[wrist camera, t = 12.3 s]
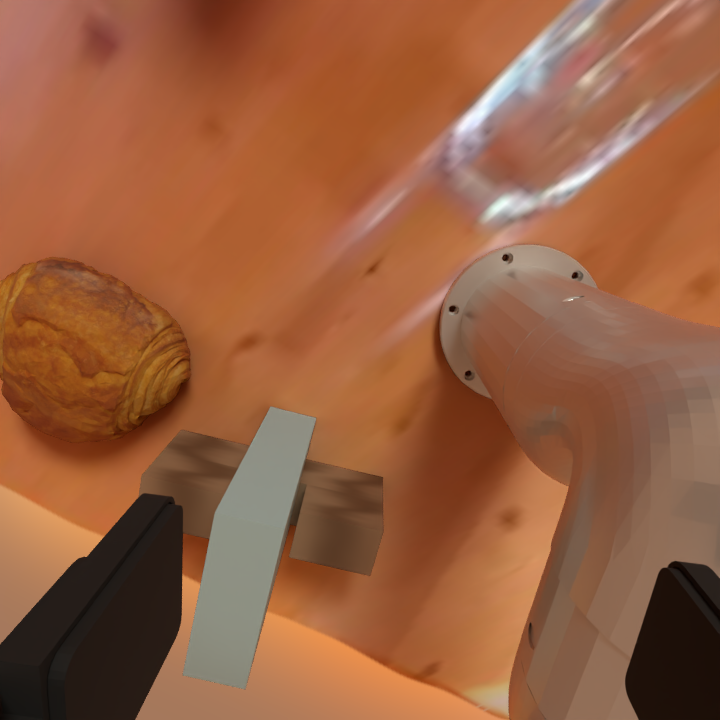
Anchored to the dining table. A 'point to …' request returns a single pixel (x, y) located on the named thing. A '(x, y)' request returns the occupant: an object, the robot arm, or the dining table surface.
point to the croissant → (85, 351)
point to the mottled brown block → (311, 508)
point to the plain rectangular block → (247, 550)
